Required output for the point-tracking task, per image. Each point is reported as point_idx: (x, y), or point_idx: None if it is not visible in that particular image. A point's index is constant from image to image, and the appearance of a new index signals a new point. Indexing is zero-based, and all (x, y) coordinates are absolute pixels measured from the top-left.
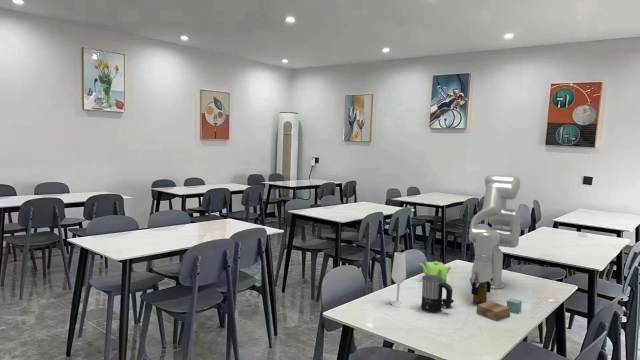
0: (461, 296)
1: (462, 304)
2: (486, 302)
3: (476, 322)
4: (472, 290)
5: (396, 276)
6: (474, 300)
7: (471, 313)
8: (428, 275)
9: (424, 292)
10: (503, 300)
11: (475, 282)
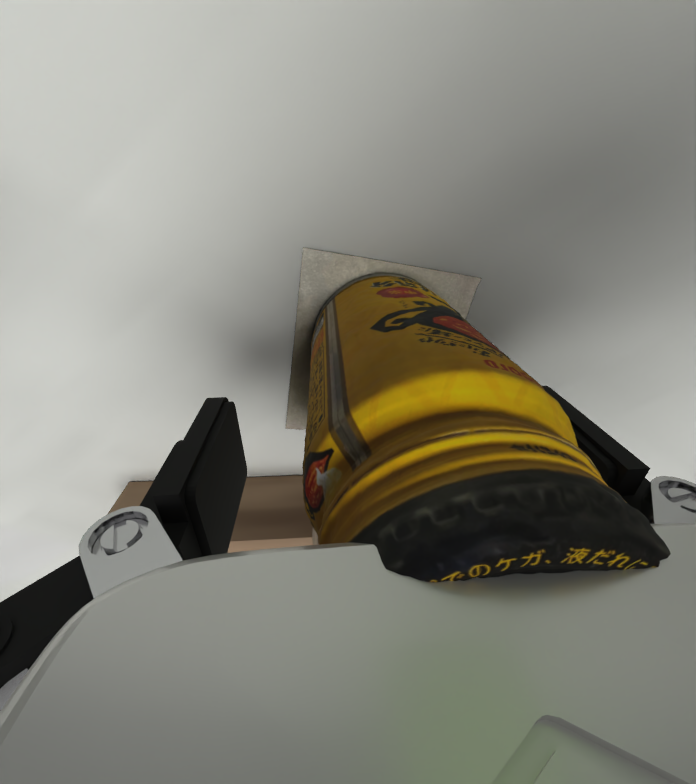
0: (400, 15)
1: (154, 277)
2: (235, 546)
3: (15, 560)
4: (168, 464)
5: None
6: (313, 339)
7: (85, 464)
8: None
9: None
10: (631, 409)
11: (336, 496)
